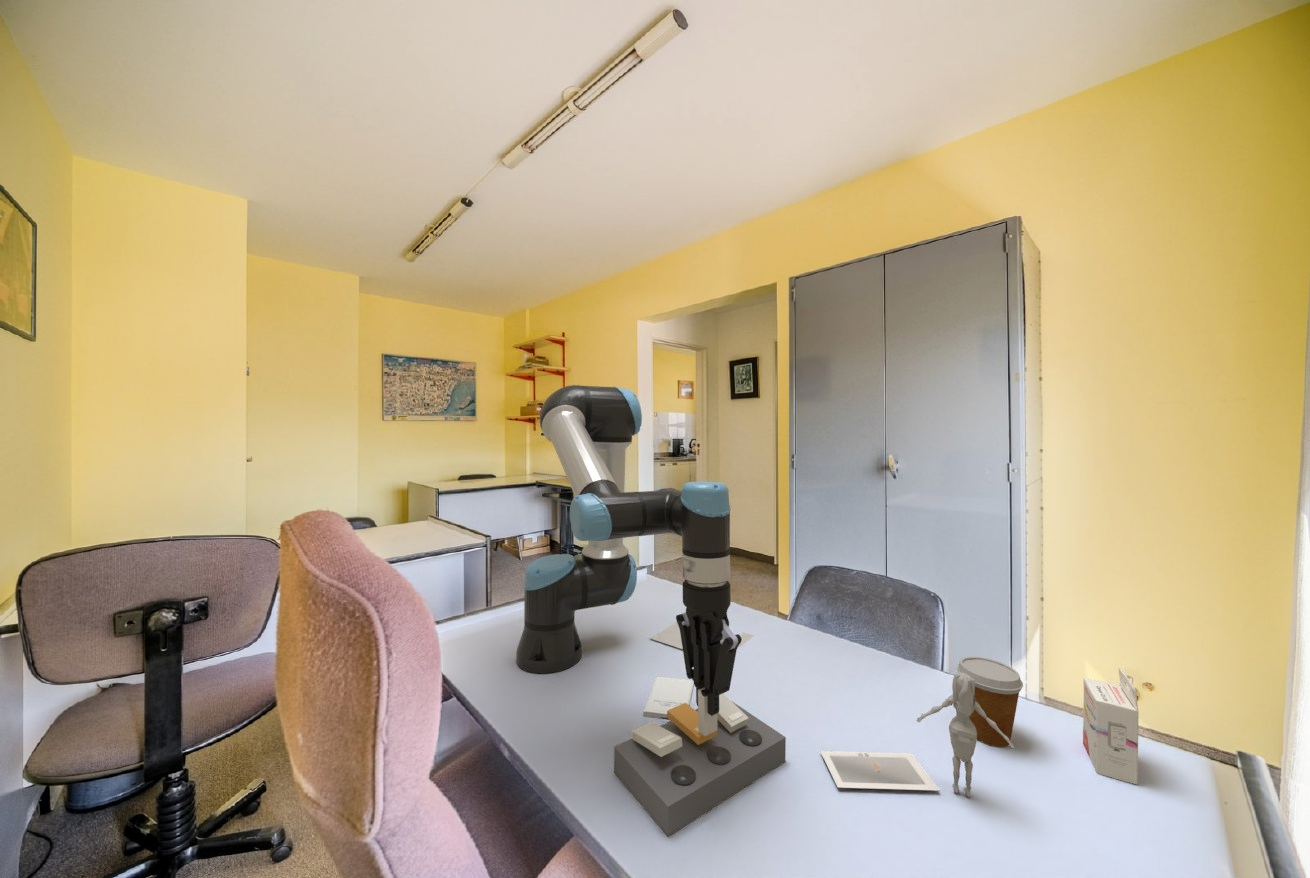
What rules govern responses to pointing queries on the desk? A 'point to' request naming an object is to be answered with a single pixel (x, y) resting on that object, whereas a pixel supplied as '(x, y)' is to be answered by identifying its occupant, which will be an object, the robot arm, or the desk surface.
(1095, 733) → the ink cartridge box
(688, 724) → the orange labeled box
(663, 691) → the external hard drive
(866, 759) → the white picture frame
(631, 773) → the rocker switch box
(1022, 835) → the desk surface
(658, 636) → the paper stack
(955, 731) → the human figurine
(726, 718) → the block
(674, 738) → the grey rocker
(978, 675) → the disposable coffee cup
